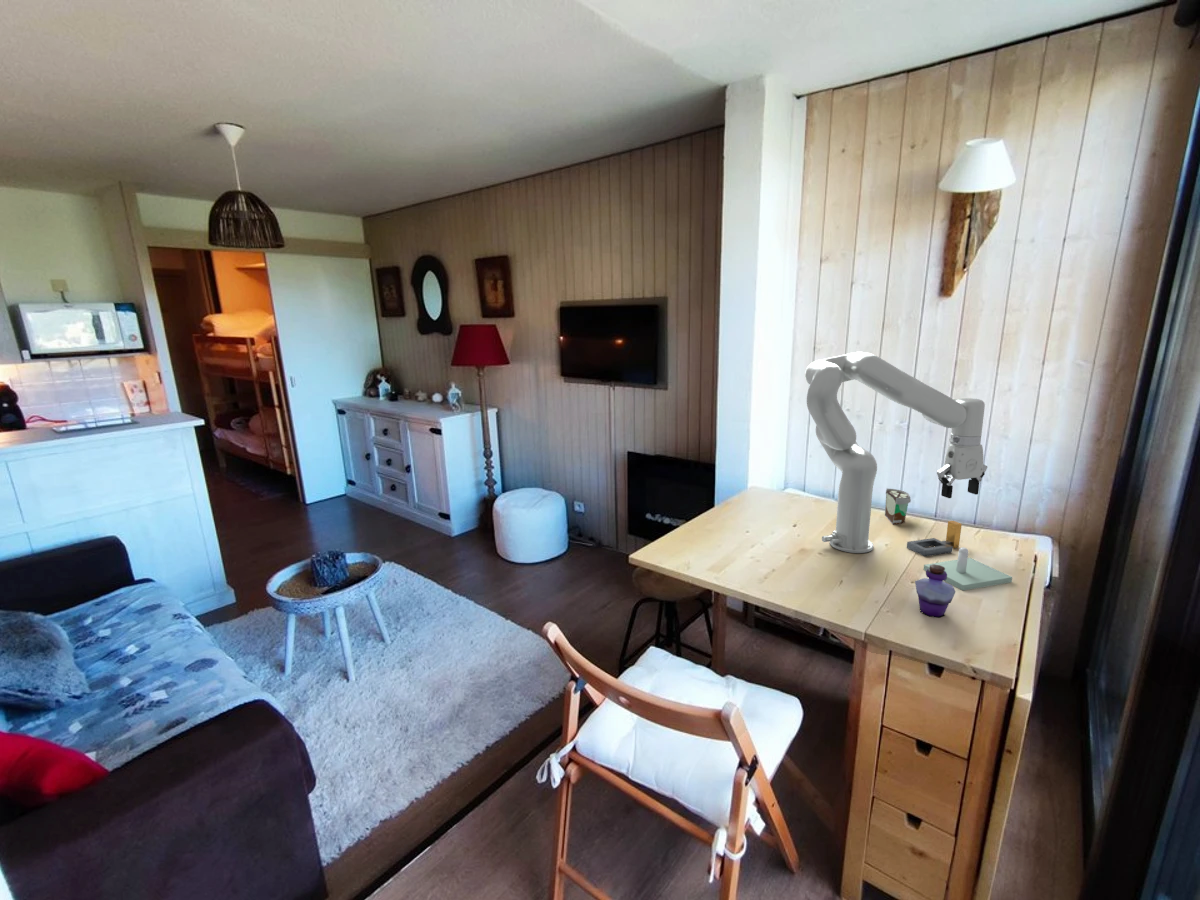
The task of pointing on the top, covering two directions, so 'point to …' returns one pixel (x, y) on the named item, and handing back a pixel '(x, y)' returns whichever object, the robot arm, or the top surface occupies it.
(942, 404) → the robot arm
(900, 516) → the food container
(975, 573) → the plate
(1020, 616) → the top surface
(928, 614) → the potion bottle
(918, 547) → the grey square frame
